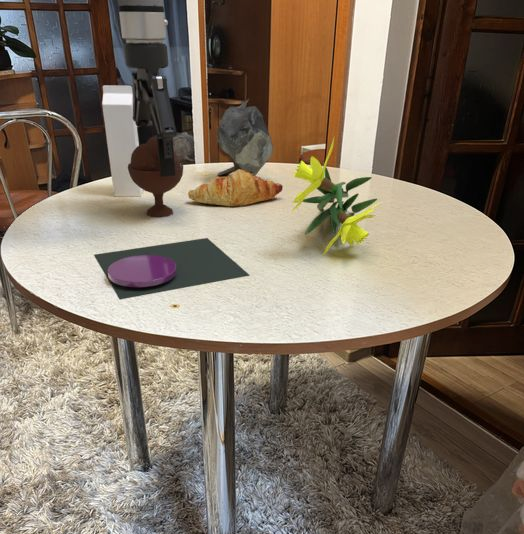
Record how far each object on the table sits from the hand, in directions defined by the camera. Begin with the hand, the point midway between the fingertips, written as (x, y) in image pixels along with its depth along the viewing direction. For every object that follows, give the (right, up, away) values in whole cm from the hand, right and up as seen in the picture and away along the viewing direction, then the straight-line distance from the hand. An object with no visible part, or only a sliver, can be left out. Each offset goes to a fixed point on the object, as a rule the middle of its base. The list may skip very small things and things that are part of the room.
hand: (157, 168), depth 100 cm
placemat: (+6, -23, -19) cm, 30 cm away
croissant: (+15, -3, +13) cm, 20 cm away
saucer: (+3, -25, -24) cm, 34 cm away
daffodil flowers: (+33, -14, -4) cm, 36 cm away
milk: (-10, 0, +17) cm, 19 cm away
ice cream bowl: (0, -8, +5) cm, 9 cm away
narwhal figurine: (+16, +7, +28) cm, 33 cm away
